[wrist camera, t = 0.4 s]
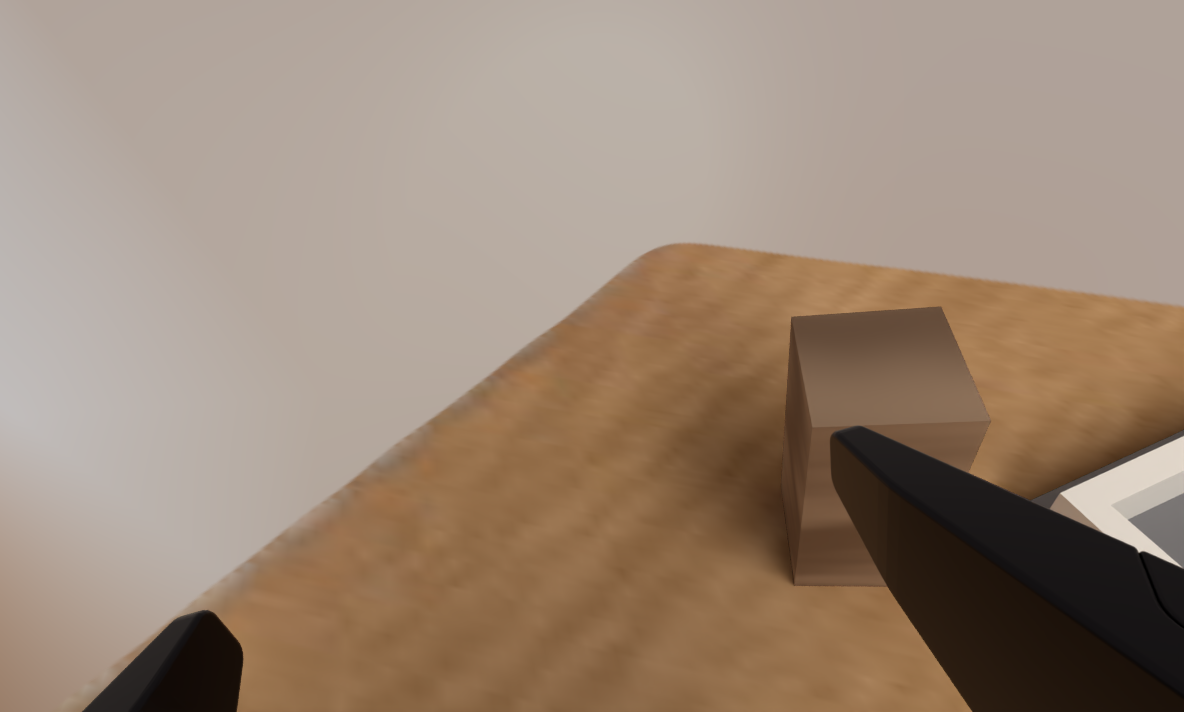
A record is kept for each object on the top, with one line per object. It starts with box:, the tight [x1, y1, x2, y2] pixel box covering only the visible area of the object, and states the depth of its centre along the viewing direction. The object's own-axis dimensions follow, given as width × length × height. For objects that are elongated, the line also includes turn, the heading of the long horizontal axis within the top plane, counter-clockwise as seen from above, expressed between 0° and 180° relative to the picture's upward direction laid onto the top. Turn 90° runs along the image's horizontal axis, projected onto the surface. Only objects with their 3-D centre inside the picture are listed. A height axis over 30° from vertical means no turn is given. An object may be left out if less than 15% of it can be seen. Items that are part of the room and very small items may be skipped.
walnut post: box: [781, 307, 991, 587], centre depth 22 cm, size 4×4×10 cm
